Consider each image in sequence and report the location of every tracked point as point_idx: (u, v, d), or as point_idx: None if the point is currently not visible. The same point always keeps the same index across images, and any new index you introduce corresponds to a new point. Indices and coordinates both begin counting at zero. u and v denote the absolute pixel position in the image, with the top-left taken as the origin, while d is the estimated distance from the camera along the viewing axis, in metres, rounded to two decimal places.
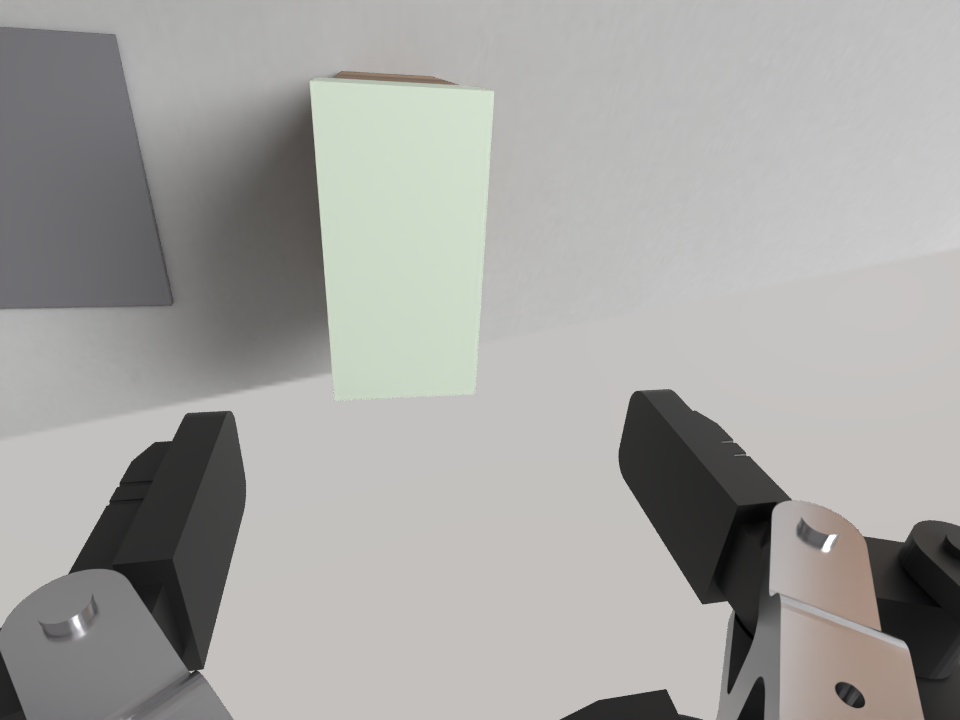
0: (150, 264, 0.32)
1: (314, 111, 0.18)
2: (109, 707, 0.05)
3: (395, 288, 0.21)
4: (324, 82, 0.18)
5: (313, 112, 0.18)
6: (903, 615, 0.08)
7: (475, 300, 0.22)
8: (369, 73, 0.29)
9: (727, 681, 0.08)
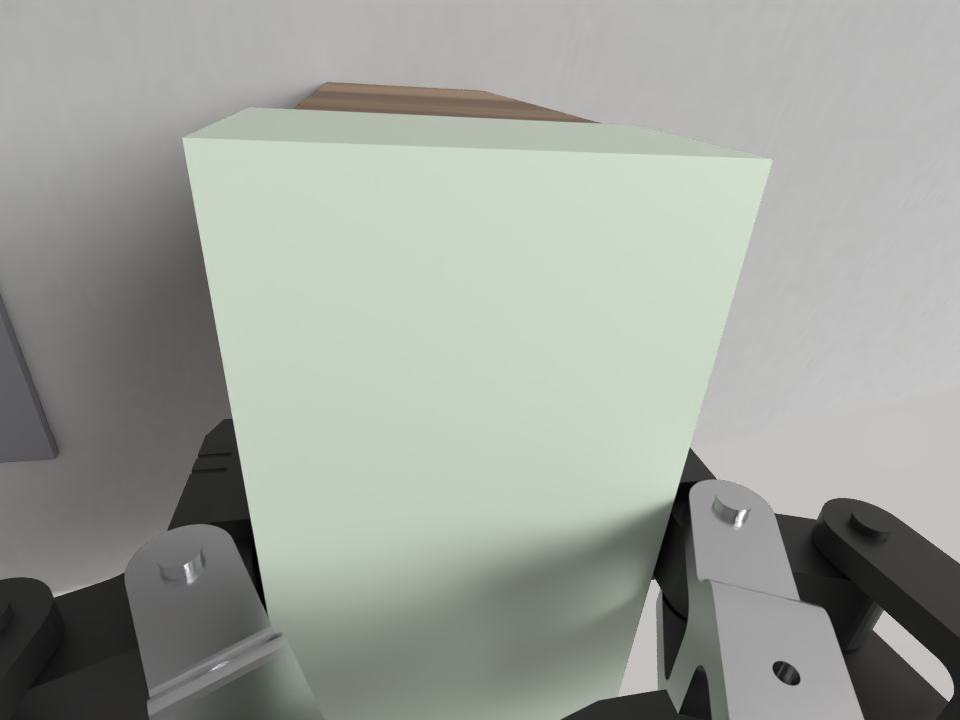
0: (11, 401, 0.19)
1: (208, 235, 0.05)
2: (205, 651, 0.06)
3: (446, 621, 0.09)
4: (238, 141, 0.05)
5: (205, 238, 0.05)
6: (810, 587, 0.08)
7: (627, 618, 0.10)
8: (376, 86, 0.16)
9: (663, 666, 0.08)
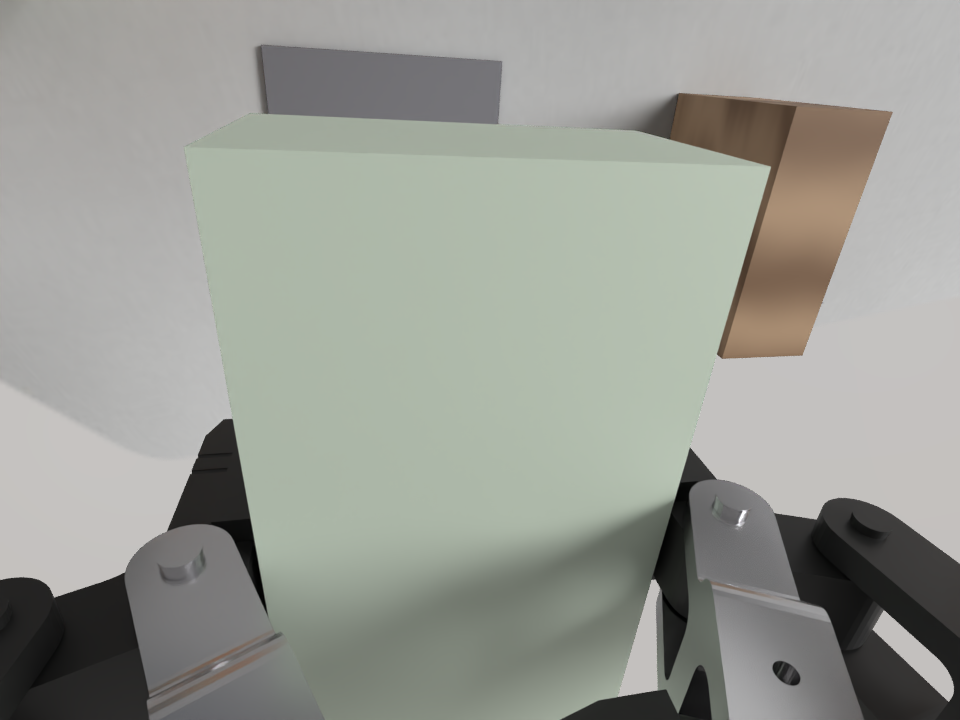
0: None
1: (210, 243, 0.05)
2: (205, 650, 0.06)
3: (446, 625, 0.09)
4: (239, 150, 0.05)
5: (206, 246, 0.05)
6: (810, 587, 0.08)
7: (626, 622, 0.10)
8: (712, 95, 0.31)
9: (663, 665, 0.08)
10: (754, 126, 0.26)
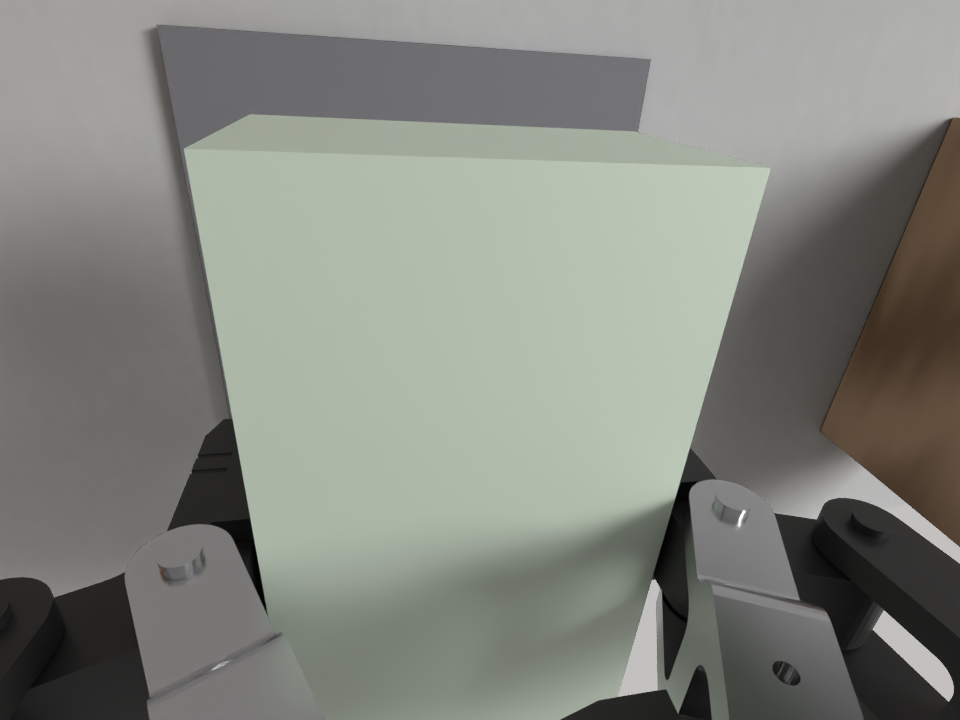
0: None
1: (210, 244, 0.05)
2: (205, 651, 0.06)
3: (446, 625, 0.09)
4: (239, 151, 0.05)
5: (206, 248, 0.05)
6: (810, 587, 0.08)
7: (626, 622, 0.10)
8: None
9: (663, 665, 0.08)
10: None
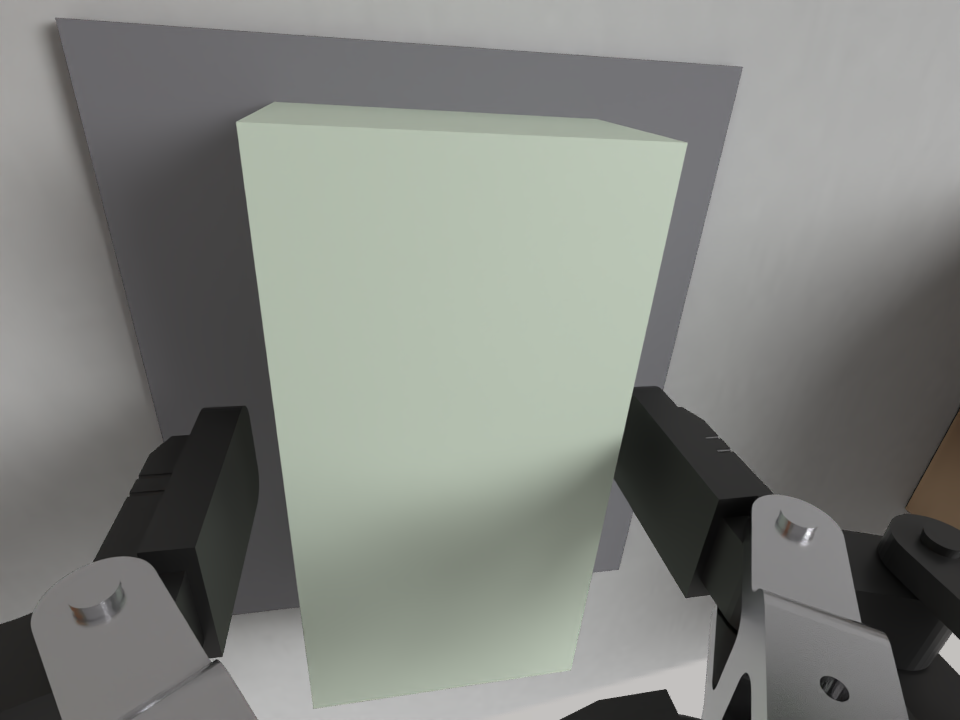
0: (612, 510, 0.16)
1: (252, 196, 0.07)
2: (133, 692, 0.05)
3: (435, 531, 0.10)
4: (276, 125, 0.07)
5: (250, 199, 0.07)
6: (880, 607, 0.08)
7: (589, 537, 0.11)
8: None
9: (711, 676, 0.08)
10: None
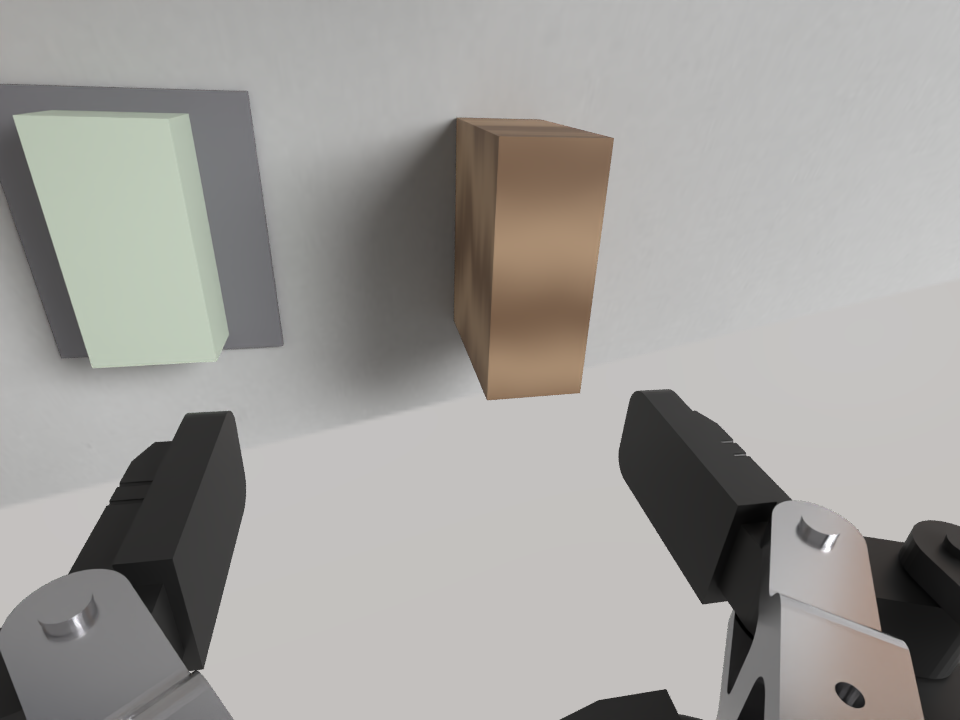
0: (265, 307, 0.33)
1: (21, 137, 0.24)
2: (109, 707, 0.05)
3: (123, 274, 0.27)
4: (26, 115, 0.23)
5: (21, 138, 0.24)
6: (903, 615, 0.08)
7: (195, 282, 0.28)
8: (486, 119, 0.30)
9: (727, 681, 0.08)
10: (485, 155, 0.24)
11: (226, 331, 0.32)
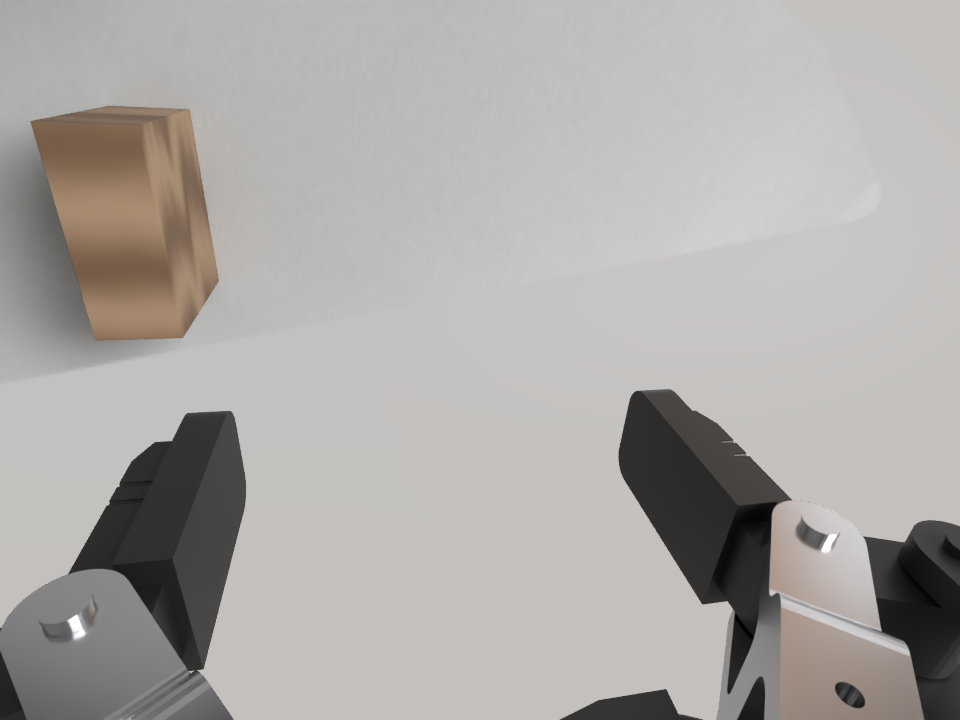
0: None
1: None
2: (109, 707, 0.05)
3: None
4: None
5: None
6: (903, 615, 0.08)
7: None
8: (127, 108, 0.35)
9: (727, 681, 0.08)
10: None
11: None
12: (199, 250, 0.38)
